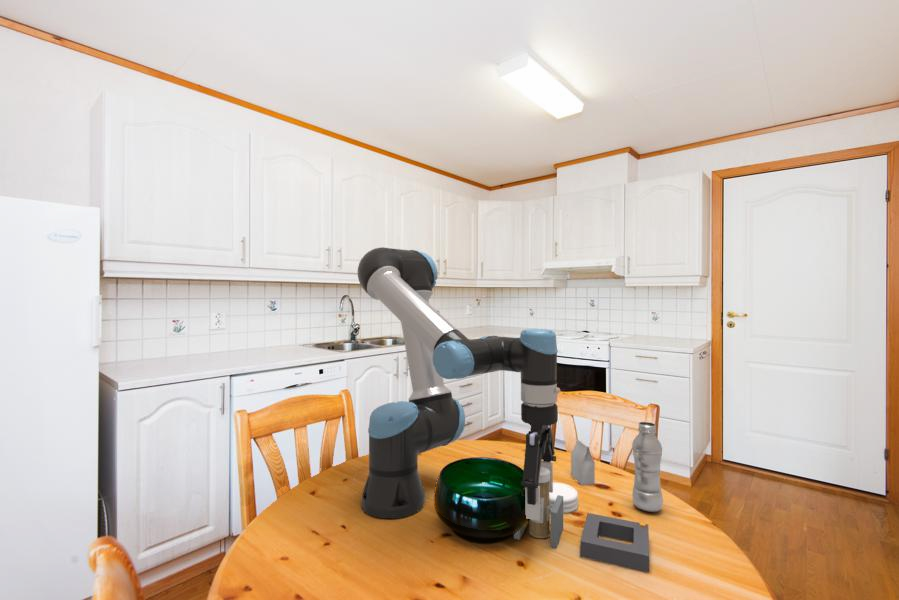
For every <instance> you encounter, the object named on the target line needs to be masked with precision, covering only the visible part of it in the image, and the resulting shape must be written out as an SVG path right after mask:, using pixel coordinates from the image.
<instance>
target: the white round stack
mask: <svg viewBox="0 0 899 600" xmlns="http://www.w3.org/2000/svg"><path fill="white" fill-rule="evenodd" d="M578 492H579V491H577V489H576V488H574V487H572V486H571V485H569V484H566V483H563V482H555V481H553V492H552V493H551V492H549V498H550V513H551V510H552V507H553V505H554V503H555V500H556V498H557V496H558V495H560V496H563V515H564V514H570V513H573V512H575V511H576V510H577V509H578V507H579V493H578Z"/></svg>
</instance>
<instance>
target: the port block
mask: <svg viewBox="0 0 899 600" xmlns="http://www.w3.org/2000/svg"><path fill="white" fill-rule="evenodd" d="M649 534H650V531H649V524H647V523H645V522H638V521H637V522H636V521H632V520H628V519H627V520H626V519H623V518H616V517H611V516H606V515H602V514H601V515H600V514H595V513H589V512H587V513H586V518H585V521H584V525H583V530H582V534H581V538H580V541H579V542H580V548H579V549H580V558H585V559H588V560H593V561H597V562H602V563H605V564H609V565H614V566H617V567H618V566H619V567H623V568H626V569H631V570H636V571H639V572H644V573H647V574H648V573H649V574H650V535H649ZM601 537H602V538H601ZM603 537H604V538H603ZM606 538H609V539H606ZM612 539H614V540H612ZM616 540H618V541H616ZM621 541H624V542H621ZM625 542H629V543H633V544H629V543H625Z"/></svg>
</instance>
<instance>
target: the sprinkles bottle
mask: <svg viewBox="0 0 899 600" xmlns="http://www.w3.org/2000/svg"><path fill="white" fill-rule="evenodd" d="M531 481H532V480H531ZM549 482H550V471H549V470H548V469H547V468H544V467H540V475H539V483H538V484H539V486H540V521H536V520H531V519H530V520H529V522H528V527H529V528H528V533H529V535H530V536H532V538H537V539H539V540H540V539H542V540H543V539H547V538H548V537H550V536H551V512H550V498H549Z"/></svg>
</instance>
